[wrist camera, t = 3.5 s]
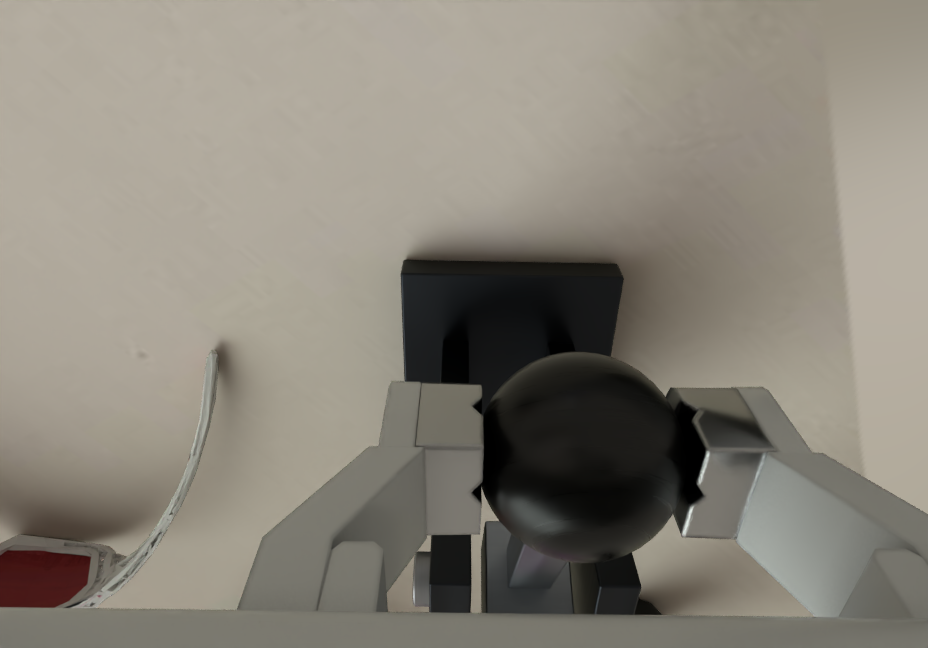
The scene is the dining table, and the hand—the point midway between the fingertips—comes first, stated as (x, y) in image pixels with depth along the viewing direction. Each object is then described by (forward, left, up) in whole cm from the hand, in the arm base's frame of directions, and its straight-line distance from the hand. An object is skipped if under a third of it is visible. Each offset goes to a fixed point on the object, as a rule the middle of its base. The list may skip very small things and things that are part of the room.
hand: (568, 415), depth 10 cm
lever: (+3, 0, -2) cm, 4 cm away
